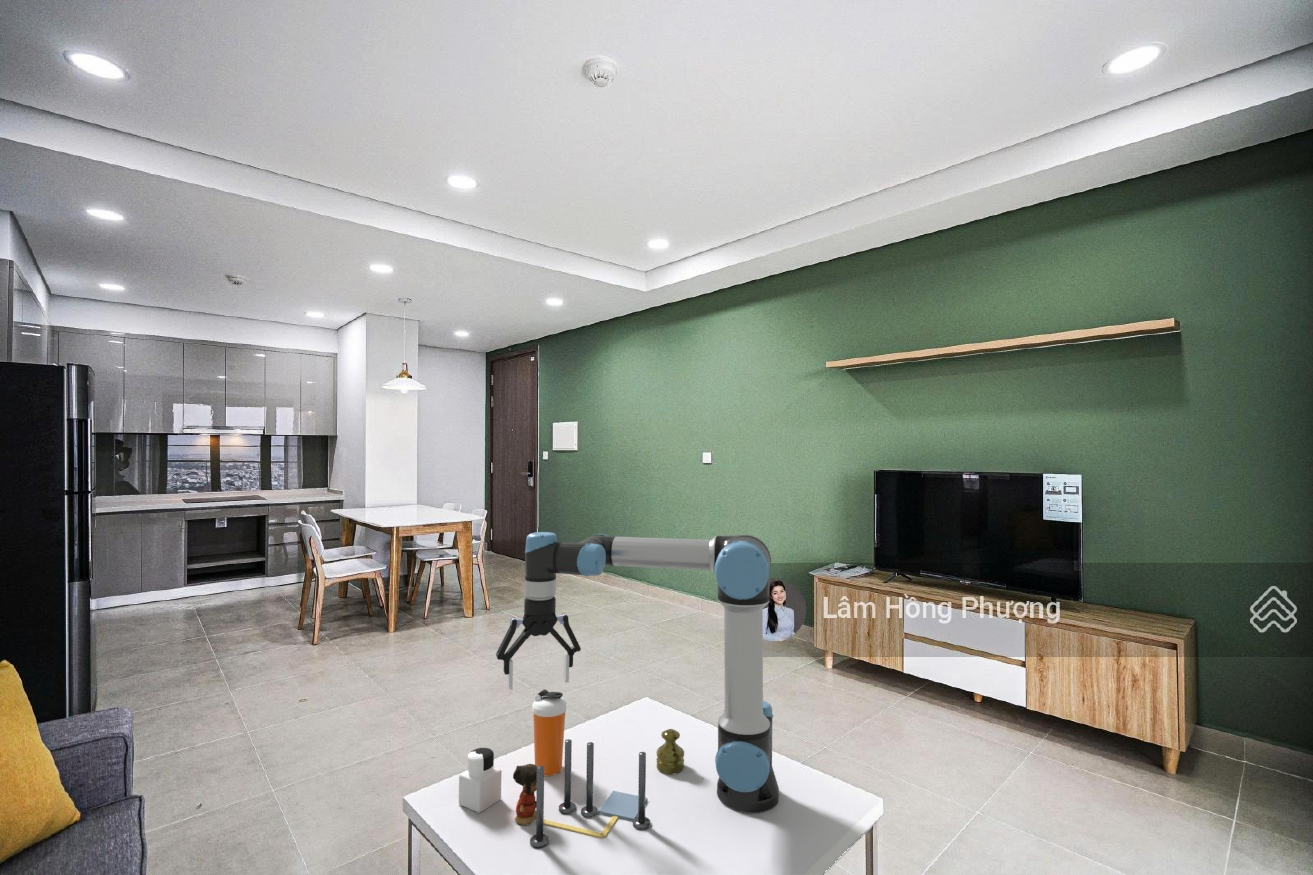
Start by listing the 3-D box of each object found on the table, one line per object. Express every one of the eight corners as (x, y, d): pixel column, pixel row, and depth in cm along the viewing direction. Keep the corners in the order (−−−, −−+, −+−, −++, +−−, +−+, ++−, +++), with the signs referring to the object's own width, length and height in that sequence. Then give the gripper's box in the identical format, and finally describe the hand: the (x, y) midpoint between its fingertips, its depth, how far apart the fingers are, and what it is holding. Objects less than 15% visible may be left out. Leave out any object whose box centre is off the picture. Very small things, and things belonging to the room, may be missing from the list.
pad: (647, 800, 150) (647, 797, 150) (634, 821, 142) (634, 818, 142) (613, 793, 153) (613, 790, 153) (598, 813, 145) (598, 810, 145)
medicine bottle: (480, 790, 154) (481, 741, 154) (501, 799, 150) (502, 749, 150) (458, 804, 147) (458, 753, 148) (479, 814, 144) (480, 762, 144)
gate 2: (652, 821, 142) (653, 751, 142) (646, 831, 138) (647, 759, 138) (585, 806, 147) (586, 738, 148) (577, 815, 143) (578, 746, 144)
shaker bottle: (558, 780, 159) (559, 701, 159) (525, 775, 161) (527, 698, 161) (570, 762, 167) (571, 688, 168) (539, 759, 169) (540, 685, 170)
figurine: (513, 828, 139) (514, 774, 139) (512, 813, 144) (512, 761, 144) (541, 823, 140) (542, 770, 141) (539, 809, 146) (540, 758, 146)
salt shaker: (677, 777, 161) (677, 739, 161) (651, 770, 164) (652, 732, 164) (688, 764, 167) (688, 727, 167) (663, 758, 170) (663, 721, 171)
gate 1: (578, 806, 147) (579, 738, 148) (543, 850, 131) (544, 773, 131) (563, 802, 149) (564, 735, 149) (526, 845, 133) (527, 770, 133)
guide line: (618, 817, 143) (618, 816, 143) (604, 838, 135) (604, 837, 135) (558, 804, 148) (558, 802, 148) (540, 823, 140) (540, 822, 140)
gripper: (586, 589, 159) (584, 672, 159) (486, 596, 150) (484, 684, 150) (593, 596, 152) (592, 683, 152) (489, 604, 143) (487, 696, 143)
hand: (538, 684), depth 151 cm, fingers open, 13 cm apart
